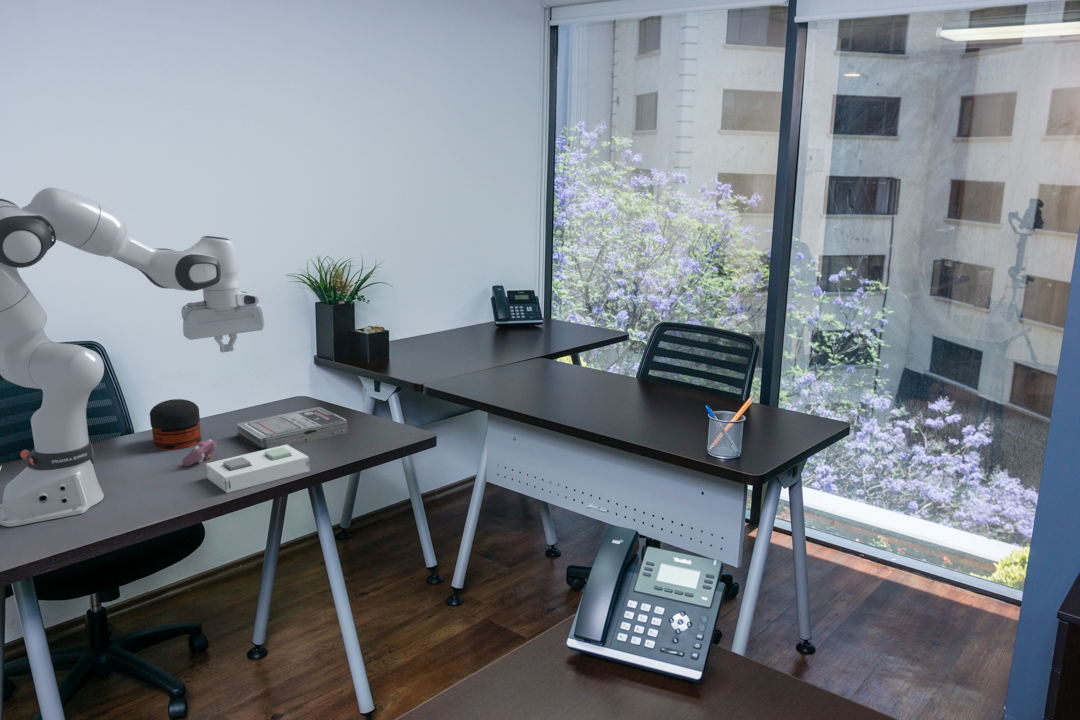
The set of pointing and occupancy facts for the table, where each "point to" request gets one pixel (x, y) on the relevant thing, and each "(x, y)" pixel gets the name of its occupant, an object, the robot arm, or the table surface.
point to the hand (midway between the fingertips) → (226, 351)
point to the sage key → (277, 454)
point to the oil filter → (175, 424)
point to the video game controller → (200, 452)
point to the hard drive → (292, 428)
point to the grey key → (236, 464)
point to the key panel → (257, 469)
